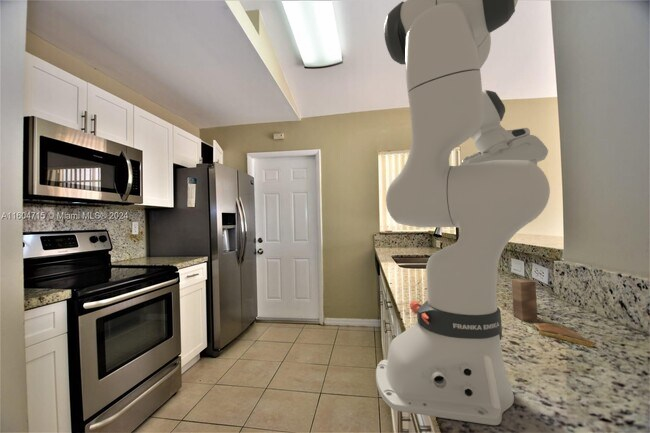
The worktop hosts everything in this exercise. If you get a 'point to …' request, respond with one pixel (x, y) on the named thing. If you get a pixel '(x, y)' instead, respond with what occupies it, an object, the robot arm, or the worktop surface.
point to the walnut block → (524, 299)
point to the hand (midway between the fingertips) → (516, 183)
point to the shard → (562, 333)
